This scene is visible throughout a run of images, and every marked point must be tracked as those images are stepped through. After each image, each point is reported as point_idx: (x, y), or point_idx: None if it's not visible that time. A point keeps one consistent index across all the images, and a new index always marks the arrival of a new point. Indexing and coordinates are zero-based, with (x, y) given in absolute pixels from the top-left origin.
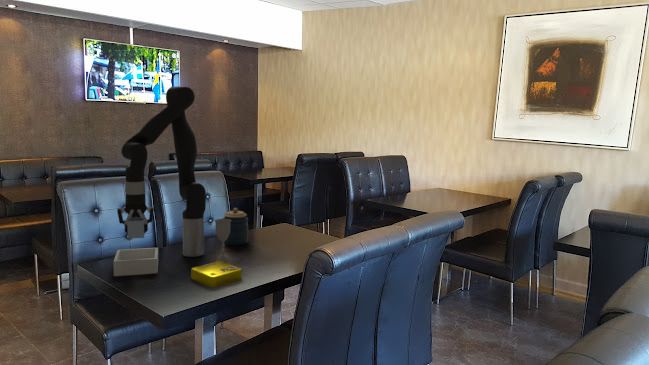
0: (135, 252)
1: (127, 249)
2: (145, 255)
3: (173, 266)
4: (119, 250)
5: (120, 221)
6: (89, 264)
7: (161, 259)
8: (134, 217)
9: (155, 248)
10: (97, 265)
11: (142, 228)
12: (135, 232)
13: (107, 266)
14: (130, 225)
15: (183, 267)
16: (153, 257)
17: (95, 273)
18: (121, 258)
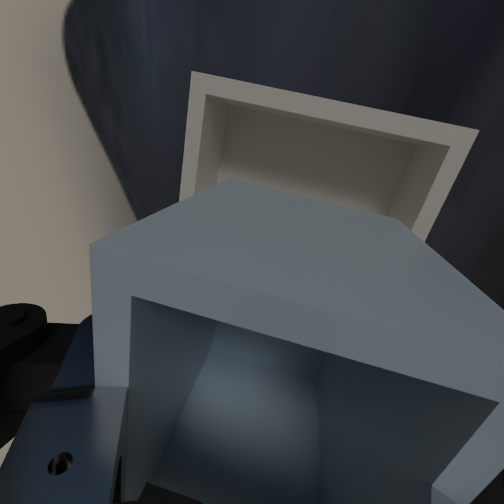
0: (305, 117)
1: (254, 92)
2: (365, 131)
3: (459, 261)
4: (202, 97)
5: (7, 407)
6: (90, 41)
7: (463, 106)
8: (243, 322)
9: (449, 146)
10: (128, 79)
11: (319, 473)
12: (250, 407)
13: (172, 119)
14: (175, 477)
15: (494, 296)
16: (408, 142)
17: (132, 202)
18: (229, 103)
